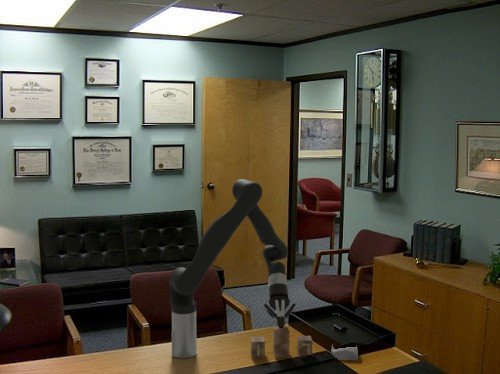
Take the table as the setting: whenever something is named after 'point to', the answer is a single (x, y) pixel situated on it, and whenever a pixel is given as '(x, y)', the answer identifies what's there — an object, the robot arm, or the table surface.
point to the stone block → (345, 353)
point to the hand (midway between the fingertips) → (281, 327)
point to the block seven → (304, 345)
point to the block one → (257, 347)
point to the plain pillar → (281, 342)
